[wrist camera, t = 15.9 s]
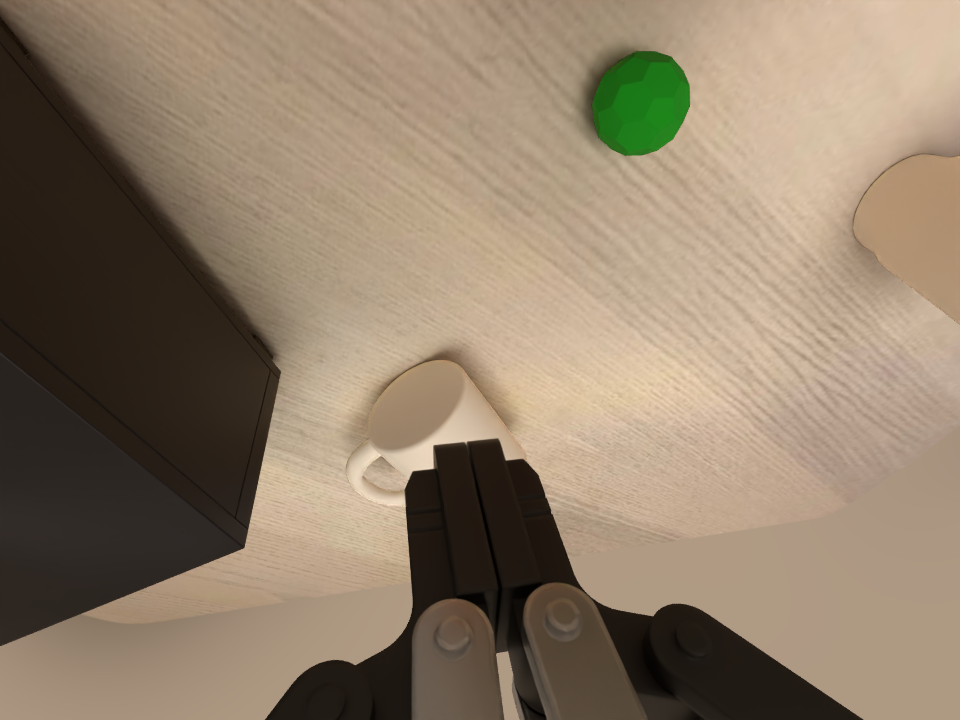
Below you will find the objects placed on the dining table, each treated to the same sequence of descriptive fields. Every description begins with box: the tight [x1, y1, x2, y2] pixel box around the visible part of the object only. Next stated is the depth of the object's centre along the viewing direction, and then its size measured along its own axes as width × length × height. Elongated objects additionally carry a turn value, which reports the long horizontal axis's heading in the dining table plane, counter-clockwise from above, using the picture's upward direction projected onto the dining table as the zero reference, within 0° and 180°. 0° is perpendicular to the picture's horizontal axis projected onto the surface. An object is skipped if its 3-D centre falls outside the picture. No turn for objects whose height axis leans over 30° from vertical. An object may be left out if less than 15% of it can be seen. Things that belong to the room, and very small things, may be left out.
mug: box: [346, 360, 527, 506], centre depth 37 cm, size 12×10×8 cm
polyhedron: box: [592, 51, 690, 156], centre depth 27 cm, size 5×5×5 cm
